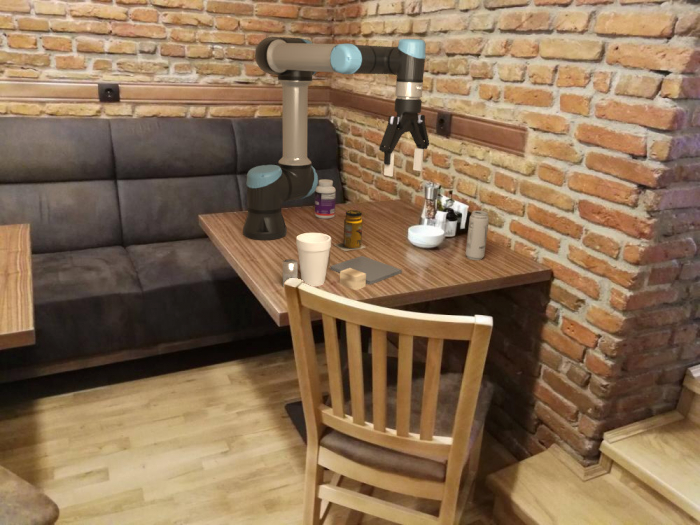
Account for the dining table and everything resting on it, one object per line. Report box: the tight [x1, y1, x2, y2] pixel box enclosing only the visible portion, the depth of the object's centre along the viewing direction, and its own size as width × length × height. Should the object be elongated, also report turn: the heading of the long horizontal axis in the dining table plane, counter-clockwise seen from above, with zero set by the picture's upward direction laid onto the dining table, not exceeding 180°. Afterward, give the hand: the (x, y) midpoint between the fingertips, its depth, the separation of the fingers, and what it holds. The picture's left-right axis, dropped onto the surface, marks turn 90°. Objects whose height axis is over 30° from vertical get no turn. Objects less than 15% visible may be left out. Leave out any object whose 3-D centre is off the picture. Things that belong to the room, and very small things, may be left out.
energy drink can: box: [465, 210, 490, 261], centre depth 177 cm, size 6×6×15 cm
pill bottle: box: [314, 178, 337, 220], centre depth 217 cm, size 8×8×14 cm
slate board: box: [329, 255, 403, 286], centre depth 165 cm, size 16×14×1 cm
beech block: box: [339, 268, 367, 291], centre depth 154 cm, size 6×4×4 cm, turn 46°
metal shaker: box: [282, 258, 299, 288], centre depth 151 cm, size 4×4×7 cm
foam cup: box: [295, 232, 332, 287], centre depth 153 cm, size 10×9×13 cm
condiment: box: [333, 209, 367, 252], centre depth 184 cm, size 7×8×12 cm
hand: (403, 173), depth 164 cm, fingers open, 13 cm apart
